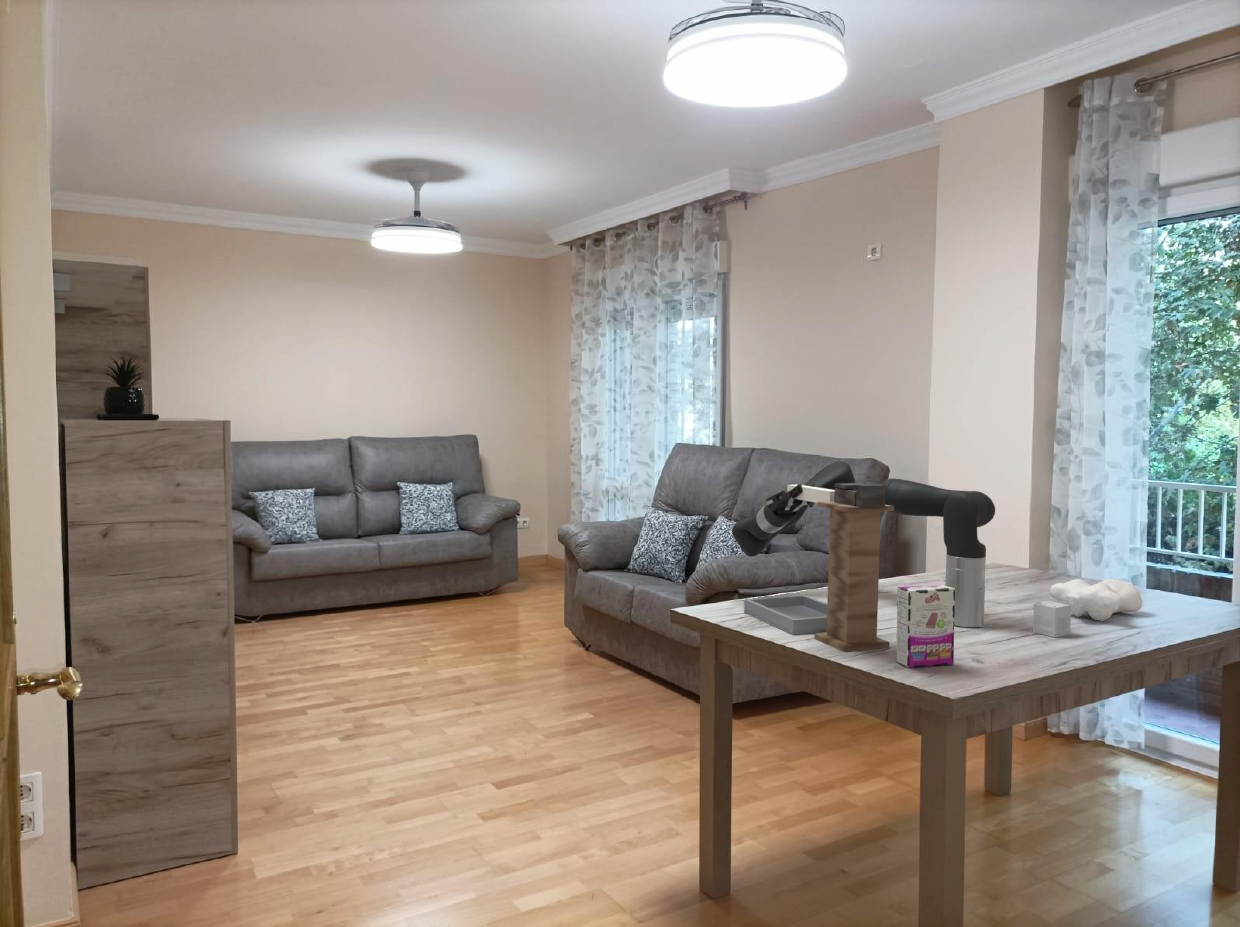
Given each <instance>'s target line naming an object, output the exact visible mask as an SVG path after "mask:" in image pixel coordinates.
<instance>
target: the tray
mask: <svg viewBox="0 0 1240 927" xmlns="http://www.w3.org/2000/svg"><path fill="white" fill-rule="evenodd" d="M743 603H744V604H743V605H744V606H743V608H744V609H743V613H744V614H747V615H749V616H751V617H753V618H756V619H758V620H760V621H762V622H763V623H767V624H769V625H771V626H773V627H775V628H777V629H779V630H782V631H784V632H786V633H788V634H790V635H793V636H797V635H805V634H806V635H807V634H814V633H824V632H827V602H824V601H822V600H818V599H815V598H814V597H811V596H807V595H805V594H799V595H798V594H797V595H784V596H771V597H770V596H769V597H758V598H757V597H756V598H745V599H744V602H743Z"/></svg>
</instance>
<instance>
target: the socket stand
mask: <svg viewBox="0 0 1240 927" xmlns="http://www.w3.org/2000/svg"><path fill="white" fill-rule="evenodd" d="M835 487H838V488H837V489H835V492H834V501H829V502H818V503H817V507H820V508H825V509H829V534H828V536H829V537H828V565H827V566H828V570H827V572H828V573H827V574H828V575H827V602H826V603H827V632H819V633H813V637H814V640H817V641H819V642H821V643H824V644H826V645H828V646H831V647H833V648H834V649H836V650H839V651H840V652H841V651H842V652H846V653H847V652H854V651H855V652H856V651H865V650H866V651H867V650H875V649H877V650H878V649H886V648H890V644H891V643H890V641H888V640H886V639H883V638H880V637H878V613H879V612H878V610H879V609H878V608H879V607H878V606H879V605H878V604H879V603H878V602H879V581H880V580H879V579H880V578H879V576H880V545H881V519H882V518H881V517H882V516H881V514H882V512H888V511H894V506H890V505H885V496H886V485H880V484H879V483H878V484H866V483H859V482H858V483H857V482H856V483H837V484H835ZM839 488H844V489H839ZM851 488H853V491H851V490H845V489H851Z"/></svg>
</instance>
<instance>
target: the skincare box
mask: <svg viewBox="0 0 1240 927" xmlns="http://www.w3.org/2000/svg"><path fill="white" fill-rule="evenodd" d="M1071 621H1072V612H1071V605H1067V604H1062V603H1060V602H1059V601H1058V602H1056V601H1053V600H1044V601H1039V602H1034V603H1033V624H1032V625H1033V630H1032V631H1033V633H1035V634H1038V635H1044V636H1048V637H1051V638H1061V637H1066V636H1070V635H1071V626H1072V625H1071V623H1072V622H1071Z"/></svg>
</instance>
